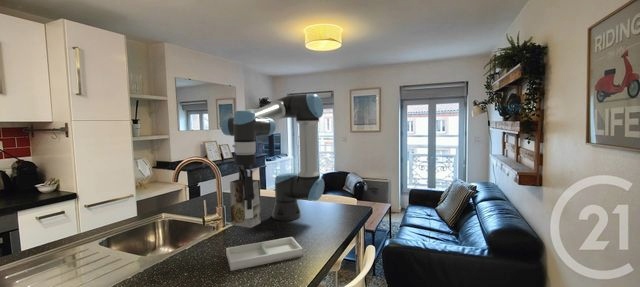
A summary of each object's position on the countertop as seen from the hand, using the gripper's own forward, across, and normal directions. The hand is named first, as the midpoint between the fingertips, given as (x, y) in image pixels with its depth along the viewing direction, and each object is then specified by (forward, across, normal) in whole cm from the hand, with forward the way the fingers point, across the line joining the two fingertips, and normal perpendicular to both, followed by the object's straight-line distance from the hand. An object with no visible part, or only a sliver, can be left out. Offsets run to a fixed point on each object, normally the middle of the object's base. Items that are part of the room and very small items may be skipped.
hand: (246, 213), depth 108 cm
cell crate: (+17, 0, +7) cm, 19 cm away
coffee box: (+4, 0, 0) cm, 4 cm away
